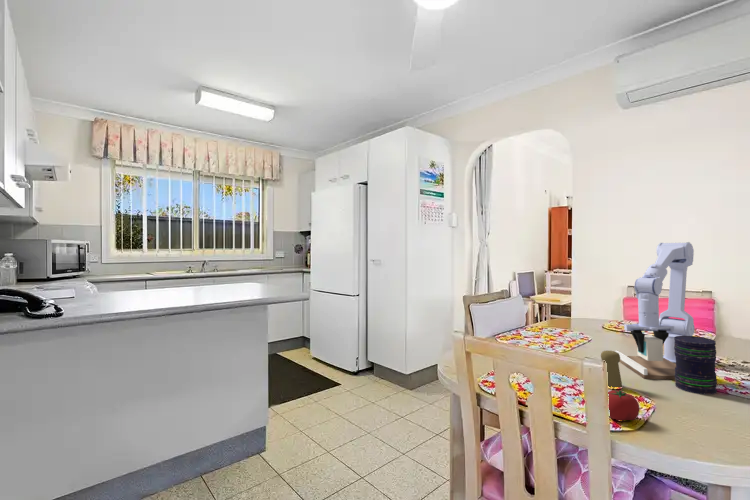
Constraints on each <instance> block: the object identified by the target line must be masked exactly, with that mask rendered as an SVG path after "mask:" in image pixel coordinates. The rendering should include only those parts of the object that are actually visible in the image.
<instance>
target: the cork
mask: <svg viewBox="0 0 750 500" xmlns="http://www.w3.org/2000/svg"><path fill="white" fill-rule="evenodd" d="M615 351H616V350H603V351H602V352H600V353H601V354H600V359H601V361H603V360H605V361H606V363H607V372H608V386H609V387H611V386H612V387H623V382H622V377H621V371H620V370H621V369H620V366H619V363H620V362H619V361H620V355H619V353H617V352H615Z"/></svg>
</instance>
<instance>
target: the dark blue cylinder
mask: <svg viewBox="0 0 750 500" xmlns="http://www.w3.org/2000/svg"><path fill="white" fill-rule="evenodd" d="M674 340H675V342H674V350H675V352H674V353H675V356H676V363H675V364H676V367H675V382H674V383H675V387H676V388H677V389H679V390H682V391H683V392H686V393H687V392H688V393H692V394H697V395H704V396H706V395H707V396H708V395H709V396H711V395H715V394H717V391H718V389H717V384H718V380H717V372H716V361H717V347H716V345H717V344H716V342H717V341H716V340H714V339H711V338H707V337H703V336H702V337H701V336H697V335H696V336H694V335H693V336H676V337H674Z"/></svg>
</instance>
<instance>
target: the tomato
mask: <svg viewBox="0 0 750 500" xmlns="http://www.w3.org/2000/svg"><path fill="white" fill-rule="evenodd" d="M608 394H609V410H610V417H609V418H610V419H612V420H614V419H616V420H615V421H617V420H622V421H621V422H624V421H623V420H632V421H634V420H636V419H637V418H638V416H639V414H640V410H641V409H640V404H639V402H638V401H637V399H636V397H635V396H633V394H632V395H631V394H629V393H626V392H623V391H622V390H609V391H608Z"/></svg>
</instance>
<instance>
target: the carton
mask: <svg viewBox="0 0 750 500" xmlns="http://www.w3.org/2000/svg"><path fill="white" fill-rule="evenodd" d="M636 349H637V355H636V356H640V357H642V358H644V359H646V360H647V361H663V355H664V350H663V349H664V344H663V340H661V339H659V338H657V337H654V335H652V334H651V335H649V334H645V336H644V352H643V353H641V352H639V351H638V347H637V346H636Z"/></svg>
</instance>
